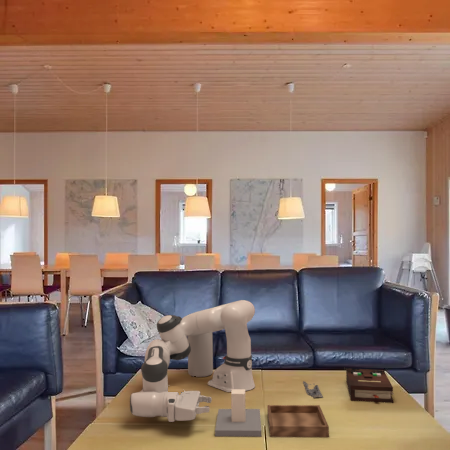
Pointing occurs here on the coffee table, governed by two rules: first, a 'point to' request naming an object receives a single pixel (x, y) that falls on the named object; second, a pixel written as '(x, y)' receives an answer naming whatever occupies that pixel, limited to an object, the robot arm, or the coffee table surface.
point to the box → (297, 421)
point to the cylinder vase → (200, 355)
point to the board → (238, 424)
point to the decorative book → (369, 385)
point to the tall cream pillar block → (238, 405)
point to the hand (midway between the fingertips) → (210, 404)
